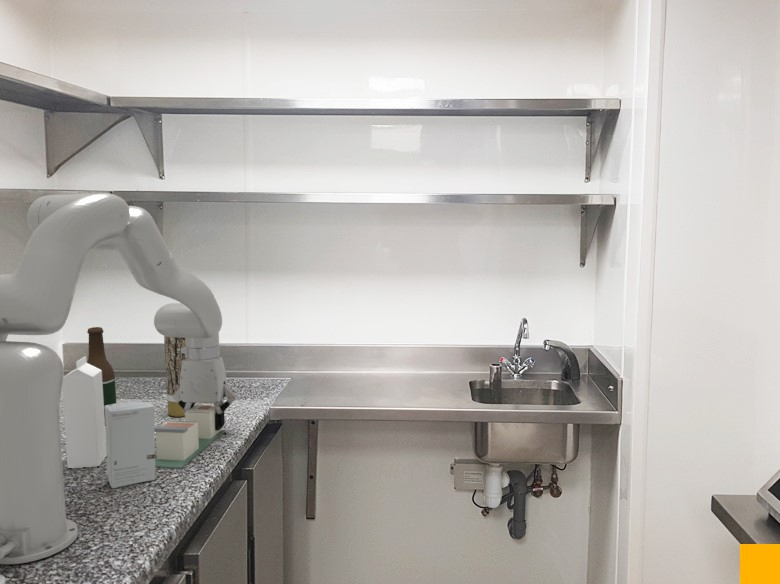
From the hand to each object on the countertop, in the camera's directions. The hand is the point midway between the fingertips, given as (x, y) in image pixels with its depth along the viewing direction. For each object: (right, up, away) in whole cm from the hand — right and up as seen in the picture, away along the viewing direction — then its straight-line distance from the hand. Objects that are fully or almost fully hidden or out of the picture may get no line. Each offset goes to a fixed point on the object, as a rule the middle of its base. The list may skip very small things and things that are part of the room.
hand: (205, 427), depth 147 cm
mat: (-1, -2, -9) cm, 10 cm away
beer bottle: (-29, -1, +9) cm, 30 cm away
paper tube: (-11, 0, +16) cm, 19 cm away
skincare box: (-7, -5, -26) cm, 27 cm away
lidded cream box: (-2, -3, -14) cm, 14 cm away
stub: (0, -1, -1) cm, 2 cm away
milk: (-20, -4, -17) cm, 26 cm away
